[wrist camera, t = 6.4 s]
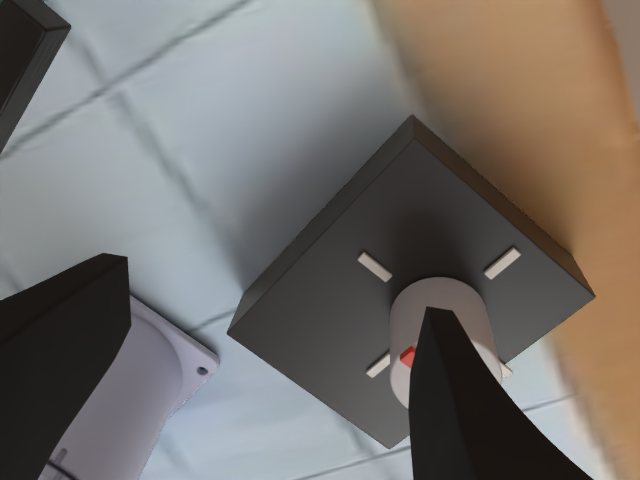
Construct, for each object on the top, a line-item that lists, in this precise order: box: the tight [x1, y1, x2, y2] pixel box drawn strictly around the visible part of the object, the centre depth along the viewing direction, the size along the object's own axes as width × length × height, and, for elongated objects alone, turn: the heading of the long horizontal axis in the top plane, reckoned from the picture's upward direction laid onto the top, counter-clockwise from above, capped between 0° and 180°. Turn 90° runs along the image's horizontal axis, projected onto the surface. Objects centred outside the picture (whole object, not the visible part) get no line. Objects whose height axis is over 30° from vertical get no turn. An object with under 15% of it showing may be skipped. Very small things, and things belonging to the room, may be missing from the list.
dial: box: [390, 277, 502, 409], centre depth 20 cm, size 4×4×4 cm
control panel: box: [227, 115, 596, 449], centre depth 23 cm, size 11×9×3 cm
